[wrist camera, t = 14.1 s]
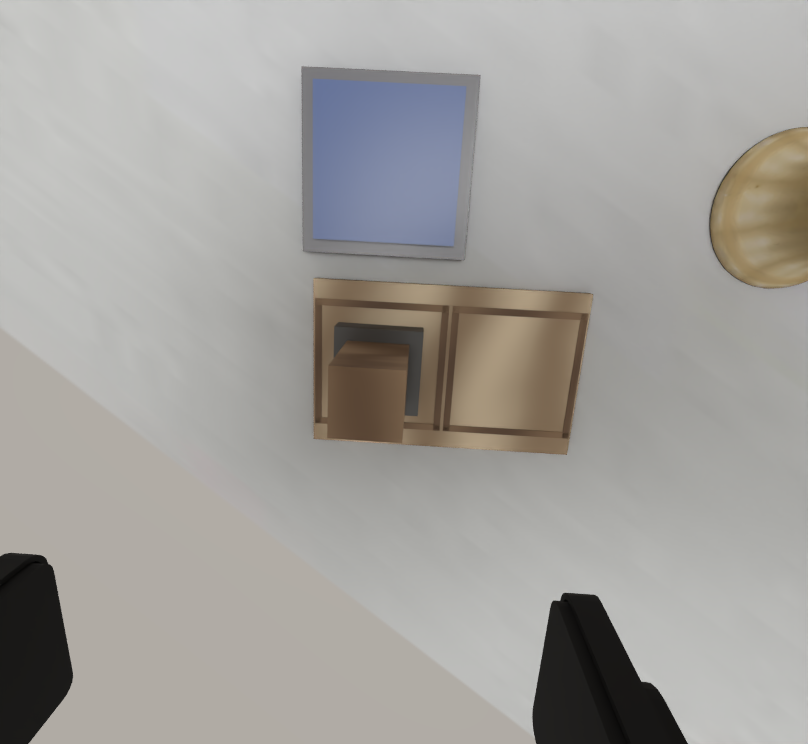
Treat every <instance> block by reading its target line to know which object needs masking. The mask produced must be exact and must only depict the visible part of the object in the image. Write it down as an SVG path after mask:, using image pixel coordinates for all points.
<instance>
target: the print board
mask: <svg viewBox="0 0 808 744" xmlns="http://www.w3.org/2000/svg"><path fill="white" fill-rule="evenodd" d="M592 300H593V294H590V293H575V292H558V291H540V290H522V289H505V288H487V287H469V286H452V285H434V284H416V283H399V282H381V281H363V280H346V279H328V278H314V439H325V440H341V441H357V442H373V443H389V444H405V445H421V446H437V447H453V448H469V449H485V450H501V451H517V452H533V453H549V454H565V455H567V451H568V445H569V439H570V433H571V427H572V421H573V414H574V408H575V402H576V396H577V390H578V384H579V378H580V372H581V366H582V360H583V354H584V348H585V342H586V336H587V330H588V324H589V318H590V312H591V306H592ZM338 322H346V323H361V324H377V325H392V326H408V327H423V328H424V336H423V350H422V363H421V377H420V391H419V405H418V416H405V417H404V429H403V440H402V443H390V442H375V441H360V440H346V439H331V438H327V414H328V365H329V364H330V363H331V361H332V360H333V359H334V326H335V325H336V324H337V323H338Z"/></svg>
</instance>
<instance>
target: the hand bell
mask: <svg viewBox="0 0 808 744" xmlns="http://www.w3.org/2000/svg"><path fill="white" fill-rule="evenodd" d="M710 231H711V239H712V244H713V248H714V250H715V253H716V255H717V257H718V259H719V261H720V262H721V263H722V265H723V267H724V268H725V269H726V270H727V271H728V272H729V273H730V274H731V275H733V276H734V277H736V278H737V279H739V280H741V281H743V282H745V283H747V284H749V285H752V286H757V287H762V288H784V287H789V286H794V285H797V284H800V283H803V282H806V281H808V127H800V128H794V129H789V130H786V131H783V132H780V133H777V134H775V135H772V136H770V137H768V138H766V139H764V140H763V141H761V142H760V143H758V144H757V145H755V146H754V147H753V148H751V149H750V150H749V151H747V152H746V153H745V154H744V155H743V156H742V157H741V158H740V159H739V160H738V161H737V162H736V163H735V165H734V166H733V167H732V168H731V169H730V171H729V173H728V174H727V176H726V177H725V178H724V180H723V182H722V183H721V186H720V188H719V190H718V192H717V195H716V197H715V200H714V204H713V207H712V213H711V220H710Z"/></svg>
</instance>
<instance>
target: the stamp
mask: <svg viewBox="0 0 808 744" xmlns="http://www.w3.org/2000/svg"><path fill="white" fill-rule="evenodd" d="M423 336H424V328H423V327H408V326H392V325H377V324H361V323H346V322H338V323H337V324H336V325H335V326H334V359H333V360H332V361H331V363H330V364H329V365H328V414H327V438H331V439H346V440H360V441H375V442H390V443H402V440H403V429H404V417H405V416H418V405H419V391H420V377H421V363H422V350H423Z"/></svg>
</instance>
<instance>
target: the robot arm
mask: <svg viewBox="0 0 808 744" xmlns="http://www.w3.org/2000/svg"><path fill="white" fill-rule="evenodd" d="M72 679H73V672H72V666H71V661H70V656H69V650H68V644H67V639H66V634H65V629H64V623H63V618H62V612H61V607H60V602H59V596H58V591H57V586H56V580H55V575H54V570H53V568H52V566H51V565H49V564H48V562H47V560H46V558H45V557H43V556H41V555H33V554H19V553H8V554H4V555H2V556H0V744H28V743H29V742H30V741H31V740H32V738H33V737H34V736H35V734H36V733H37V732H38V731H39V729H40V728H41V727H42V726H43V724H44V723H45V722H46V721H47V719H48V718H49V717H50V715H51V714H52V713H53V712H54V711H55V709H56V708H57V707H58V705H59V704H60V703H61V702H62V700H63V699H64V697H65V696H66V695H67V693H68V691H69V689H70V686H71V683H72ZM533 729H534V735H535V740H536V744H688V743H687V741H686V740H685V738H684V736H683V734H682V732H681V730H680V728H679V726H678V725H677V723H676V721H675V719H674V717H673V715H672V713H671V711H670V710H669V708H668V706H667V704H666V702H665V700H664V699H663V697H662V695H661V694H660V692H659V691H658V689H657V688H656V687H654V686H653V685H652V684H651V683H647V682H641V680H640V678H639V676H638V674H637V672H636V670H635V668H634V666H633V664H632V662H631V661H630V659H629V657H628V655H627V653H626V651H625V649H624V647H623V645H622V643H621V641H620V639H619V637H618V635H617V633H616V631H615V629H614V627H613V625H612V623H611V621H610V619H609V617H608V615H607V613H606V611H605V609H604V607H603V605H602V603H601V601H600V599H599V598H598V597H597V596H596V595H588V594H575V593H563V595H562V596H561V600H560V601H553V602H552V604H551V608H550V613H549V619H548V625H547V631H546V636H545V642H544V648H543V654H542V659H541V665H540V671H539V677H538V682H537V688H536V694H535V700H534V706H533Z"/></svg>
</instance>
